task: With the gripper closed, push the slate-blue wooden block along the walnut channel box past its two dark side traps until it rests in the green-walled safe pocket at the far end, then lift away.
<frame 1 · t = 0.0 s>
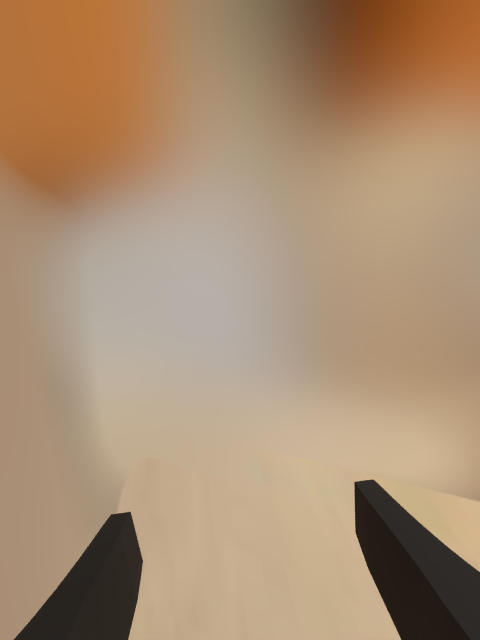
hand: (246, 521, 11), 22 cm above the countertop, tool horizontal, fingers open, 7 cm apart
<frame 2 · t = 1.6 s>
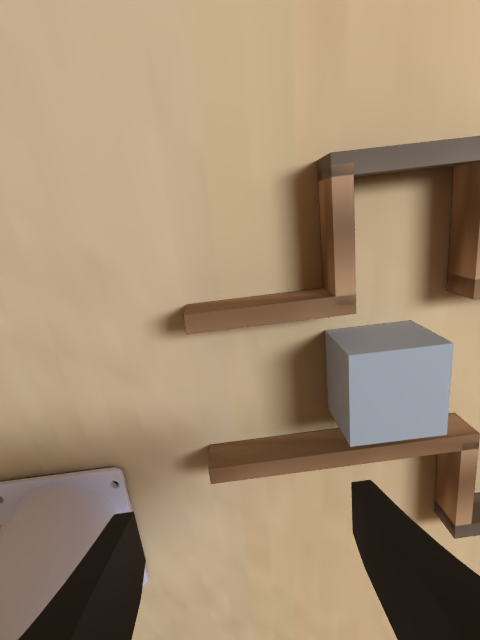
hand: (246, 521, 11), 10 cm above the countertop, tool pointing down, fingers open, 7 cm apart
block: (367, 364, 21), resting in trap box
trap box: (409, 360, 21), on the countertop
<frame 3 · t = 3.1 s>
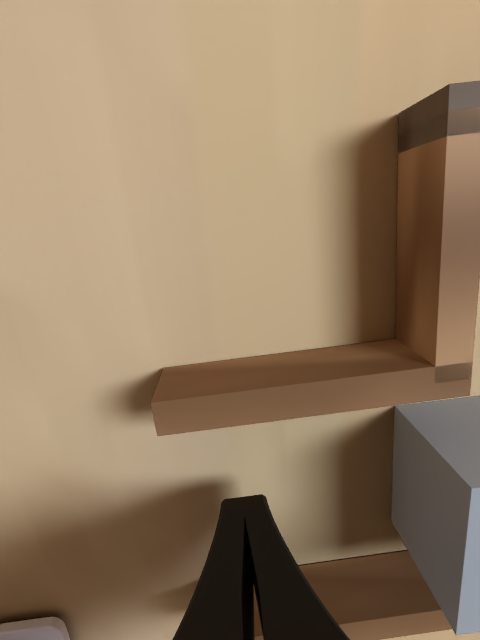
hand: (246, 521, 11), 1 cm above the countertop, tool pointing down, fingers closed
block: (457, 455, 13), resting in trap box
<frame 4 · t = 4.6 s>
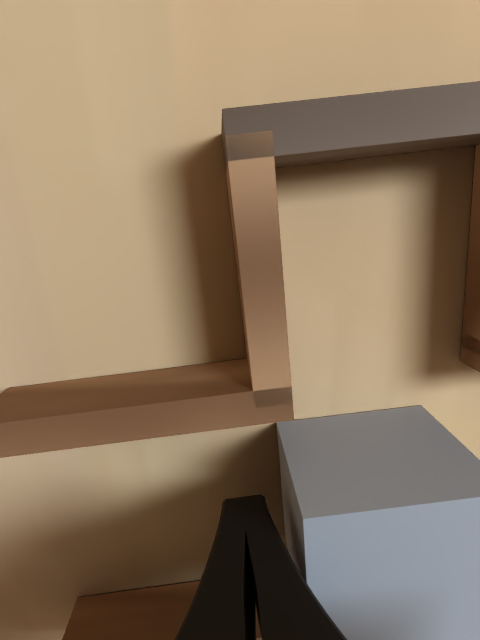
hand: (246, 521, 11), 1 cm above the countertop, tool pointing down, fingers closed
block: (349, 474, 13), resting in trap box, touching gripper
trap box: (398, 468, 13), on the countertop
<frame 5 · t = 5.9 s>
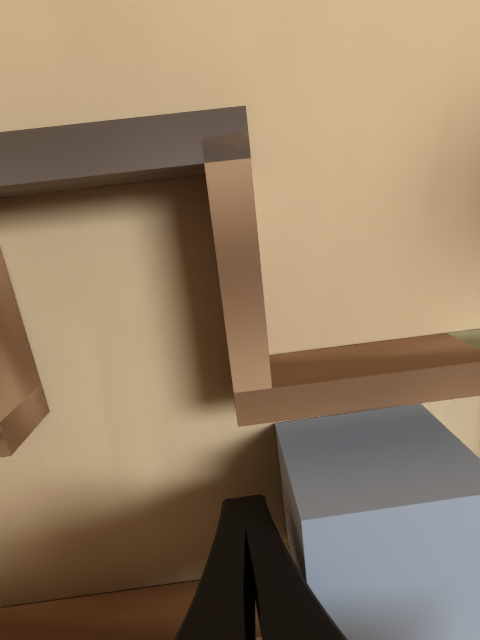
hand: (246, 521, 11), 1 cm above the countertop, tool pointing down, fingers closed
block: (350, 474, 13), resting in trap box, touching gripper
trap box: (191, 495, 13), on the countertop
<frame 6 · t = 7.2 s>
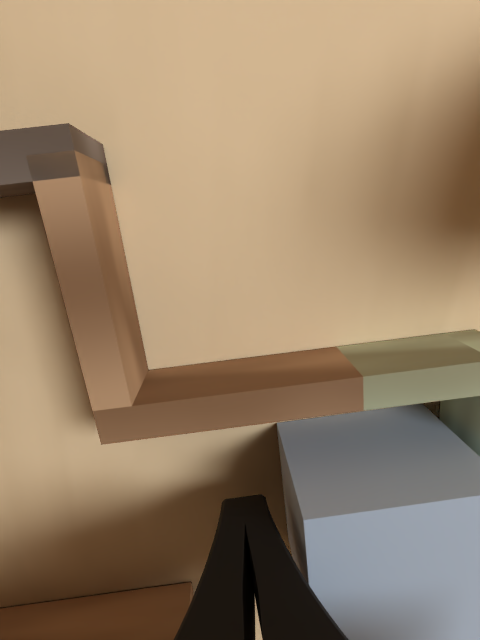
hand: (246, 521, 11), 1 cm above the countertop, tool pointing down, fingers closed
block: (351, 474, 13), resting in trap box, touching gripper
trap box: (89, 509, 13), on the countertop
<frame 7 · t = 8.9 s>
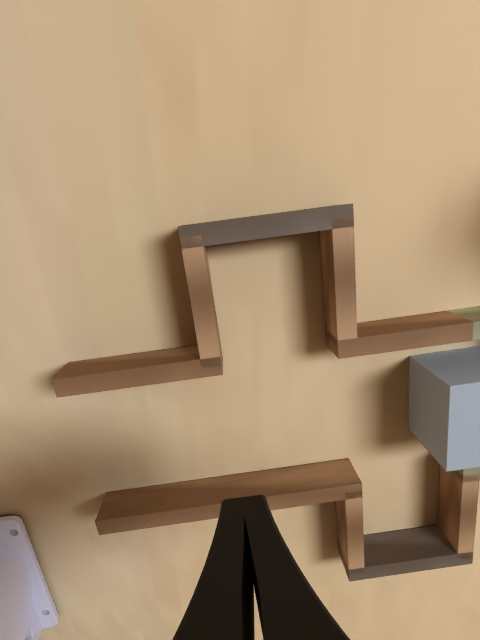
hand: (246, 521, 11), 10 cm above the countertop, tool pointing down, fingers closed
block: (448, 386, 22), resting in trap box
trap box: (297, 409, 21), on the countertop
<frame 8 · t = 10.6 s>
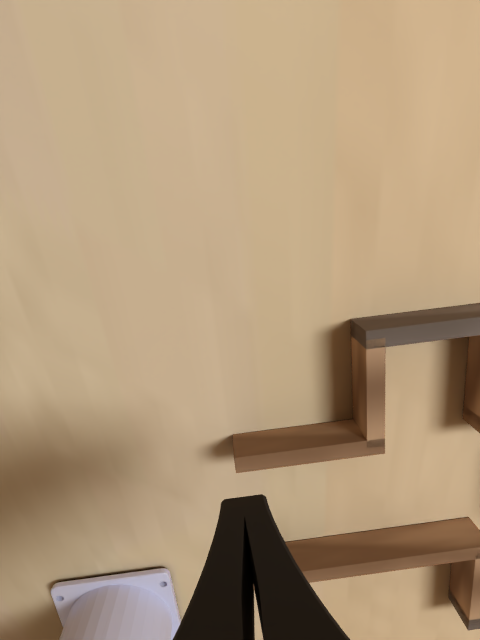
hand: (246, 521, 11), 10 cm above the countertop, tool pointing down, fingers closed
trap box: (428, 475, 23), on the countertop
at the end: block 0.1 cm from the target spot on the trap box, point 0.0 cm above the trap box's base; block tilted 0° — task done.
